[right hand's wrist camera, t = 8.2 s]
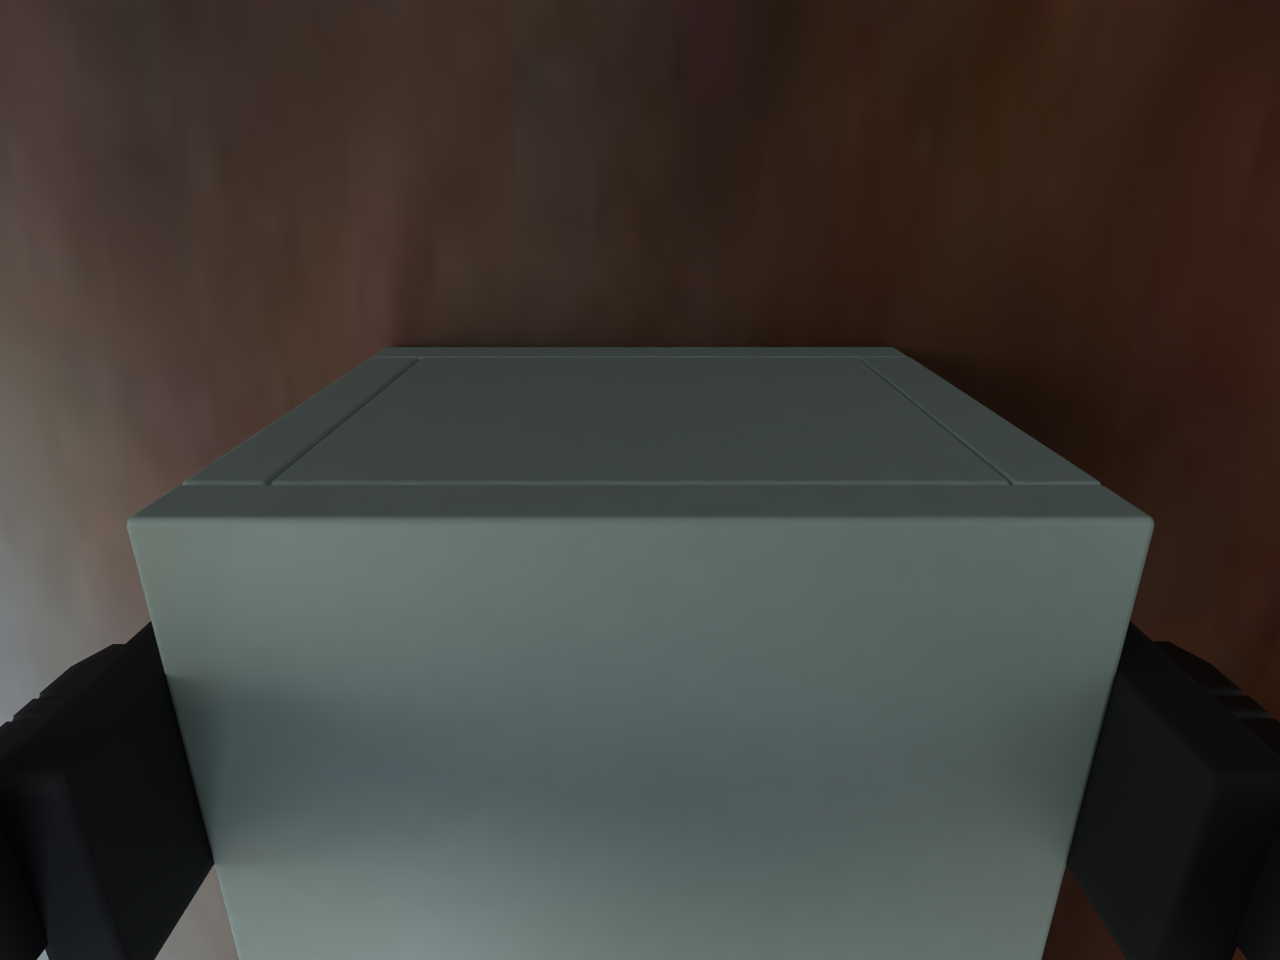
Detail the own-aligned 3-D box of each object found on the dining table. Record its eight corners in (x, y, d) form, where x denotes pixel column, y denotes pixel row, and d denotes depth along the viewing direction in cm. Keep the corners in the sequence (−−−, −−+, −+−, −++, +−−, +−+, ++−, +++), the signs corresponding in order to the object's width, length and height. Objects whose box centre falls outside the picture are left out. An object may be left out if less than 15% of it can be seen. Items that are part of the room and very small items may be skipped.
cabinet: (810, 1056, 23) (899, 1511, 15) (469, 1056, 23) (380, 1512, 15) (895, 346, 16) (1160, 518, 8) (384, 346, 16) (120, 518, 8)
